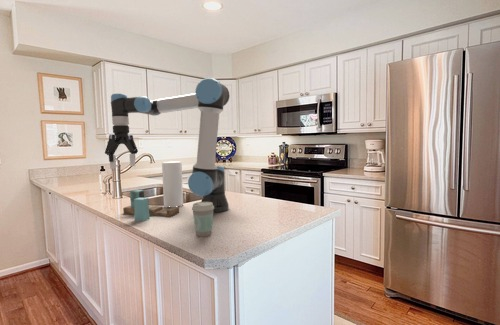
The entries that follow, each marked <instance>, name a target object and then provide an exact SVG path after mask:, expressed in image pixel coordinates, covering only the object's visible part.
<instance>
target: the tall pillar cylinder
mask: <svg viewBox="0 0 500 325" xmlns="http://www.w3.org/2000/svg"><path fill="white" fill-rule="evenodd" d="M182 163H183V162H182V161H174V160H173V161H162V162H161V169H162V170H161V171H162V187H163V188H162V192H163V193H162V194H163V196H162V197H163V208H167V207H169V206H170V207H176V206H180V207H182V206H181V205H183V206H184V191H183V188H184V186H183V164H182Z"/></svg>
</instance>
